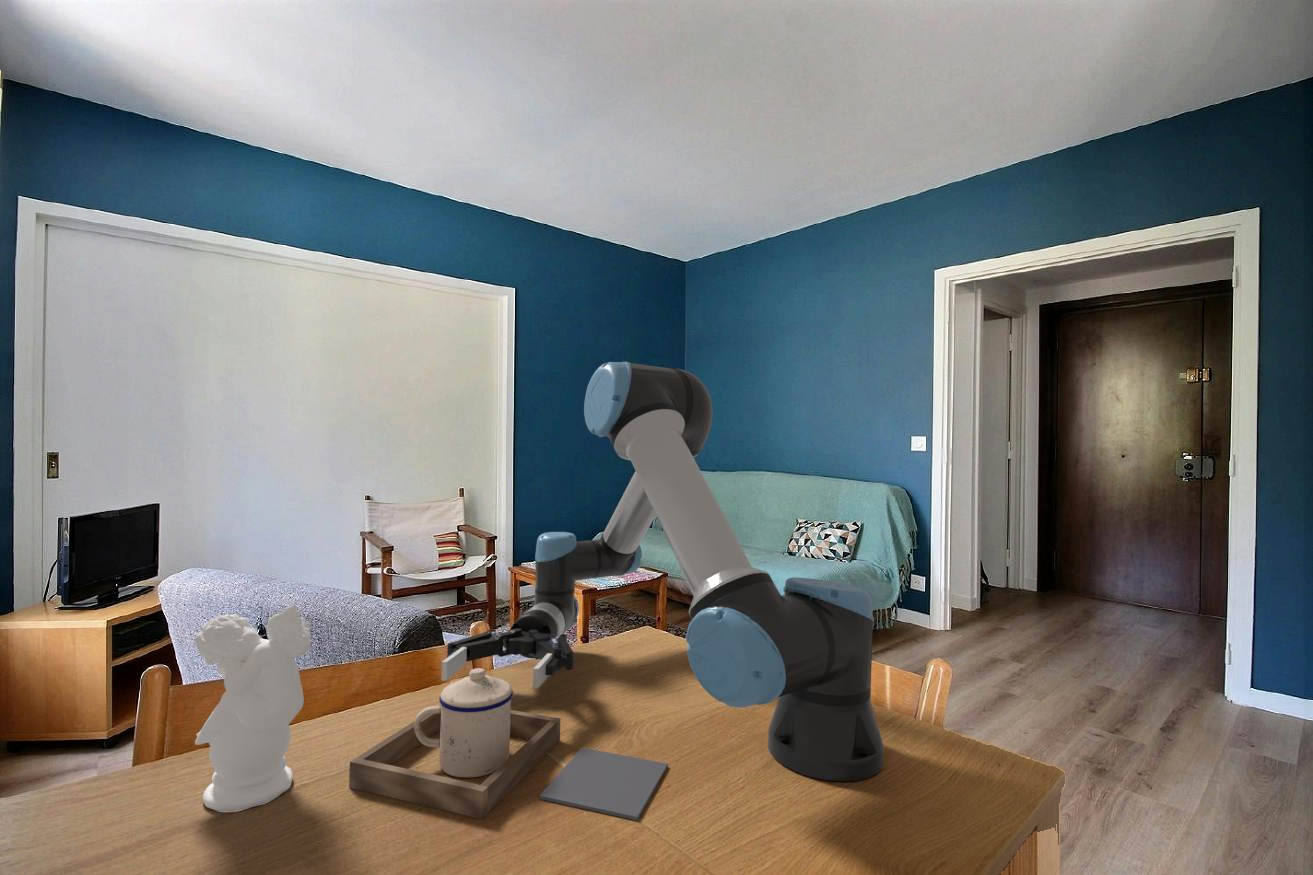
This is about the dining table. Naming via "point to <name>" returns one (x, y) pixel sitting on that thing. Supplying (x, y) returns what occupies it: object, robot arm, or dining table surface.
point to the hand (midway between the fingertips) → (489, 674)
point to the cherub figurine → (252, 707)
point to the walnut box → (448, 793)
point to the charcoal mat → (606, 783)
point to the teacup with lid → (471, 725)
